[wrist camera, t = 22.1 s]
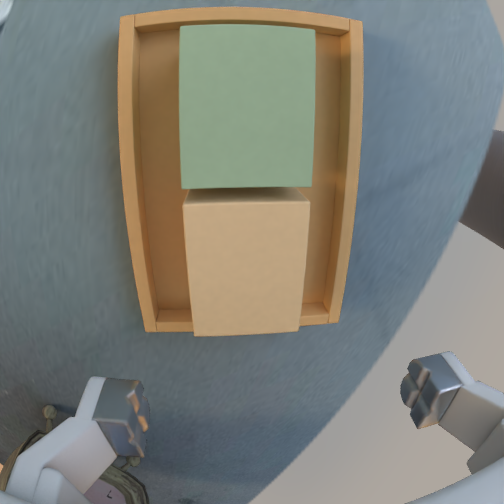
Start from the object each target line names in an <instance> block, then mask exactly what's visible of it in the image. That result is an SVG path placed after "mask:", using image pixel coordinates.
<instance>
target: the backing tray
mask: <svg viewBox="0 0 504 504" xmlns="http://www.w3.org/2000/svg"><path fill="white" fill-rule="evenodd" d="M212 24H249V25H271V26H285V27H296V28H305V29H314V30H315V50H316V64H315V122H314V150H313V171H312V186H311V187H295V188H296V189H297V190H298V191H299V192H300V193H301V194H302V195H303V196H304V197H305V198H306V199H308V200H309V201H310V217H309V230H308V243H307V255H306V267H305V278H304V288H303V298H302V308H301V317H300V326H307V325H319V324H327V323H338V322H339V317H340V312H341V306H342V301H343V295H344V289H345V283H346V276H347V270H348V263H349V256H350V249H351V242H352V234H353V226H354V218H355V209H356V199H357V189H358V178H359V166H360V152H361V136H362V114H363V23H362V21H358V20H353V19H348V18H343V17H338V16H332V15H326V14H319V13H312V12H304V11H295V10H285V9H273V8H254V7H205V8H186V9H174V10H164V11H155V12H147V13H140V14H135V15H127V16H122V17H120V29H119V49H118V124H119V145H120V161H121V174H122V185H123V195H124V205H125V213H126V222H127V229H128V237H129V244H130V251H131V257H132V263H133V269H134V275H135V281H136V287H137V292H138V297H139V302H140V307H141V312H142V317H143V322H144V326H145V331H146V332H157V331H158V332H194V329H193V321H192V312H191V303H190V293H189V283H188V273H187V261H186V249H185V237H184V223H183V207H182V206H183V203H184V201H185V198H186V195H187V193H188V190H189V189H182V188H181V169H180V141H179V39H180V27H181V26H190V25H212Z"/></svg>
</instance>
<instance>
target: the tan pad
mask: <svg viewBox="0 0 504 504" xmlns="http://www.w3.org/2000/svg"><path fill="white" fill-rule="evenodd" d="M182 207H183V223H184V237H185V249H186V261H187V273H188V283H189V293H190V303H191V312H192V321H193V329H194V335H195V336H196V337H203V336H231V335H252V334H268V333H283V332H296V331H299V326H300V317H301V308H302V298H303V288H304V278H305V267H306V255H307V243H308V230H309V217H310V201H309V200H308V199H306V198H305V197H304V196H303V195H302V194H301V193H300V192H299V191H298V190H297V189H296V188H295V187H245V188H207V189H189V190H188V193H187V195H186V198H185V201H184V203H183V206H182Z"/></svg>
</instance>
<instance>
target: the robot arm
mask: <svg viewBox="0 0 504 504" xmlns="http://www.w3.org/2000/svg"><path fill="white" fill-rule="evenodd" d="M407 369H408V371H409V373H408V374H407V375H406V376H405V377H404V378H403V381H402V384H401V397H402V400H403V402H404V404H405V405H406V406H408V407H409V408H411V413H410V415H411V417H412V419H413V421H414V423H415V425H416V427H417V429H421V428H424V427H428V426H431V425H434V424H437V423H439V424H438V425H439V426H441V427H442V428H444V429H445V430H446V431H447V432H449V433H450V434H452V435H453V436H454V437H456V438H457V439H458V440H460V441H461V442H462V443H464V444H465V445H467V446H468V447H469V448H471V449H472V450H473V451H475V453H474V454H473V455H472V456H471V458H470V459H469V460H468V462H467V466H468V468H469V470H470V472H471V474H472V475H470V476H468V477H466V478H464V479H462V480H460V481H458V482H456V483H454V484H452V485H449V486H447V487H445V488H443V489H441V490H438V491H436V492H434V493H431V494H429V495H426V496H424V497H421V498H419V499H416V500H414V501H411V502H408V503H405V504H504V393H502V392H500V391H498V390H496V389H494V388H492V387H490V386H488V385H486V384H484V383H482V382H480V381H474V379H473V378H472V377H471V375H470V374H469V373H468V371H467V370H466V369H465V367H464V366H463V365H462V364H461V362H460V361H459V360H458V358H457V357H456V356H455V355H454V354H453V353H452V352H450V351H447V352H444V353H440V354H435V355H431V356H427V357H422V358H418V359H414V360H412V361H411V362H410V364H409V366H408V368H407ZM143 391H144V388H143V385H142V382H141V381H137V380H126V379H115V378H104V377H95V376H92V377H91V378H90V379H89V380H88V383H87V385H86V388H85V391H84V393H83V396H82V398H81V401H80V404H79V406H78V409H77V412H76V414H75V417H69V418H68V419H67V420H65V421H64V422H63V423H61V424H60V425H59V426H57V427H56V428H55V429H53V430H52V431H51V432H49V433H48V434H47V435H45V436H44V437H43V438H42V439H40V440H39V441H38V442H36V443H35V444H34V445H32V446H31V447H30V448H28V449H27V450H26V451H24V452H23V453H22V454H20V455H19V456H18V457H17V459H16V462H15V465H14V467H13V470H12V473H11V475H10V478H9V481H8V484H7V487H6V490H5V492H4V491H1V490H0V504H93V503H92V502H91V501H90V500H89V499H87V498H86V497H85V496H84V495H83V494H84V493H85V492H86V491H87V490H88V489H89V488H90V487H91V486H92V485H93V483H94V482H95V481H96V480H97V479H98V478H99V477H100V476H101V475H102V473H103V472H104V471H105V470H106V469H107V468H108V467H109V466H110V465H111V463H112V462H113V461H114V460H115V459H116V458H117V455H119V456H129V457H141V458H144V456H145V450H146V443H147V439H146V436H145V434H144V432H145V431H146V430H147V429H148V428H149V424H150V407H149V403H148V400H147V398H146V397H144V396H143Z"/></svg>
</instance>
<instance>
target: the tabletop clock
mask: <svg viewBox="0 0 504 504" xmlns="http://www.w3.org/2000/svg"><path fill="white" fill-rule="evenodd" d="M42 413H43V416H44V417H45V418H46V419H47V426H46V432H45V431H40V430H37V431H36V432H35V433H34V434H32V435H31V436H30V437H29V438H28V439H26V440H25V441H24V442H23V443H22V444H21V445H20V446H19V447H18V448H17V449H16V450H15V451H14V452H13V453H12V454H11V455H10V457H9V458H8V459H7V461H6V462H5V464H4V466H3V469H2V471H1V473H0V490H1V491H4V492H5V490H6V487H7V484H8V481H9V478H10V475H11V473H12V470H13V467H14V465H15V462H16V459H17V457H18V456H19V455H20V454H22V453H23V452H24V451H26V450H27V449H28V448H30V447H31V446H32V445H34V444H35V443H36V442H38V441H39V440H40V439H42V438H43V437H44V436H45V435H47V434H48V433H49V432H51V431H52V430H53V428H52V420H53V419H55V418H56V416H57V411H56V409H55V408H54V407H53V406H51V405H46V406H44V408H43V410H42ZM126 461H127V463H126V464H125V465H123V466H122V467H121V468H119V467H117V466H116V465H114V464H112V463H111V465H110V466H109V467H108V468H107V469H106V470H105V471H104V472H103V473H102V475H101V476H100V477H99V478H98V479H97V480H96V481H95V482H94V483H93V485H92V486H91V487H90V488H89V489H88V490H87V491H86V492H85V493H84V494H83V495H84V496H85V497H86V498H87V499H89V500H90V501H91V502H92V503H93V504H149V499H148V495H147V492H146V488H145V485H143V484H142V483H141V482H140V481H139V480H138V479H137V478H135V477H134V476H132V475H131V474H130V473H128V472H126V471H127V470H128V468H129V467H130V466H132V467H136V466H138V465H139V464H140V458H139V457H129V456H127V458H126Z"/></svg>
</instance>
